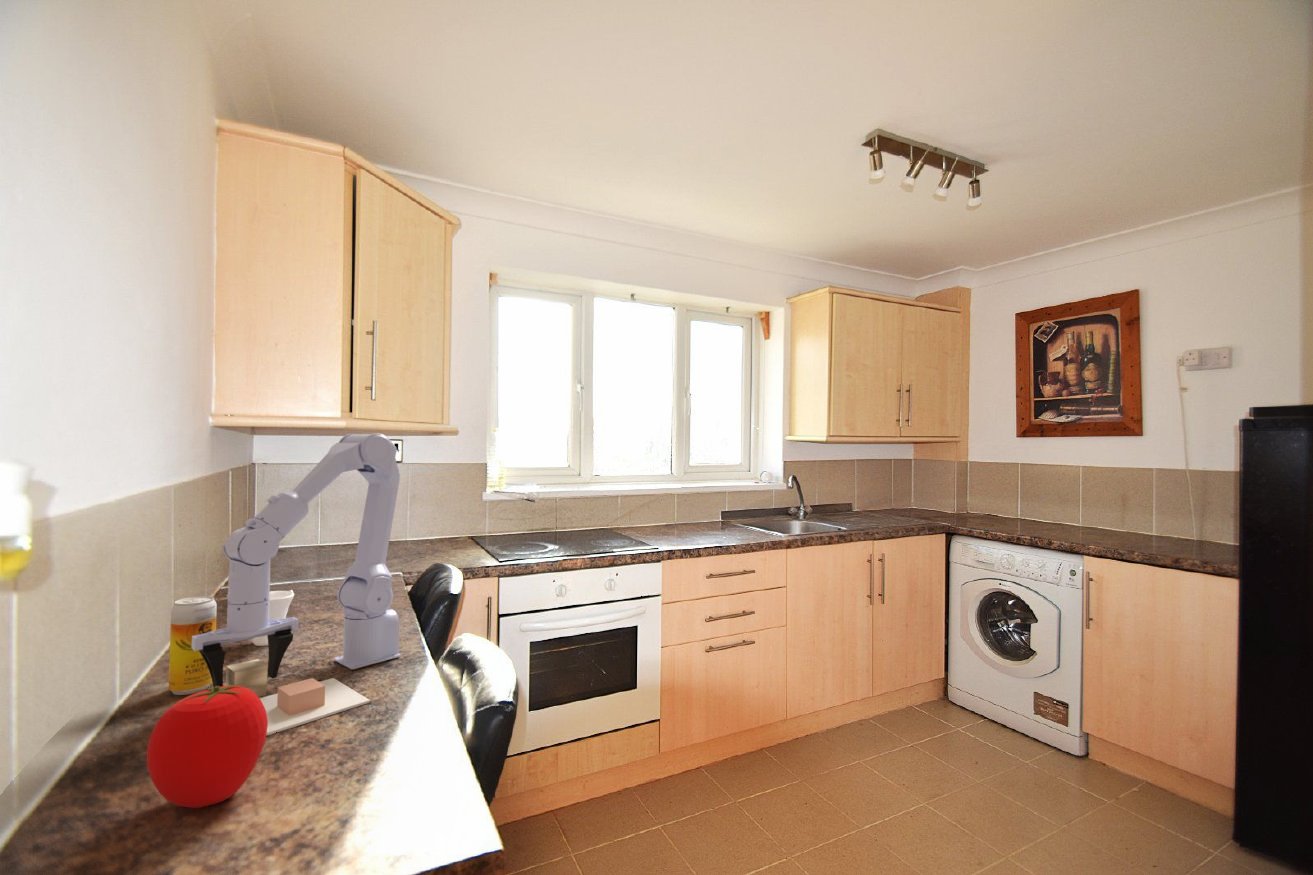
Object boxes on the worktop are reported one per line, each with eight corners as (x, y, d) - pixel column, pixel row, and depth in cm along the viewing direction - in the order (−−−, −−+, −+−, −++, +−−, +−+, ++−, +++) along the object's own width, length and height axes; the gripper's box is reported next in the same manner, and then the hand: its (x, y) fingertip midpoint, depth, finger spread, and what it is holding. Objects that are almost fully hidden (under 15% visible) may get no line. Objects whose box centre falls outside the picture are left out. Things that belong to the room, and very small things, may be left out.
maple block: (257, 688, 99) (258, 658, 99) (266, 695, 96) (267, 665, 97) (225, 696, 96) (226, 666, 96) (234, 704, 93) (235, 673, 93)
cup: (302, 639, 125) (304, 592, 125) (254, 651, 117) (255, 601, 117) (282, 632, 129) (283, 587, 130) (234, 643, 122) (235, 595, 122)
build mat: (333, 680, 103) (333, 678, 103) (369, 702, 94) (369, 700, 94) (224, 710, 91) (224, 708, 91) (254, 739, 82) (254, 736, 82)
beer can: (188, 697, 95) (191, 605, 95) (158, 694, 96) (161, 603, 97) (223, 683, 101) (225, 596, 101) (194, 680, 102) (197, 594, 103)
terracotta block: (311, 696, 95) (312, 678, 95) (324, 705, 92) (325, 686, 92) (277, 706, 91) (277, 687, 91) (289, 716, 88) (289, 696, 88)
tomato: (168, 843, 60) (172, 718, 61) (130, 807, 66) (134, 694, 66) (285, 790, 70) (288, 682, 70) (242, 763, 76) (245, 664, 76)
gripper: (288, 589, 105) (286, 665, 104) (187, 604, 93) (184, 690, 93) (304, 595, 100) (301, 675, 100) (200, 612, 89) (196, 702, 89)
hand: (245, 683), depth 96 cm, fingers open, 7 cm apart
